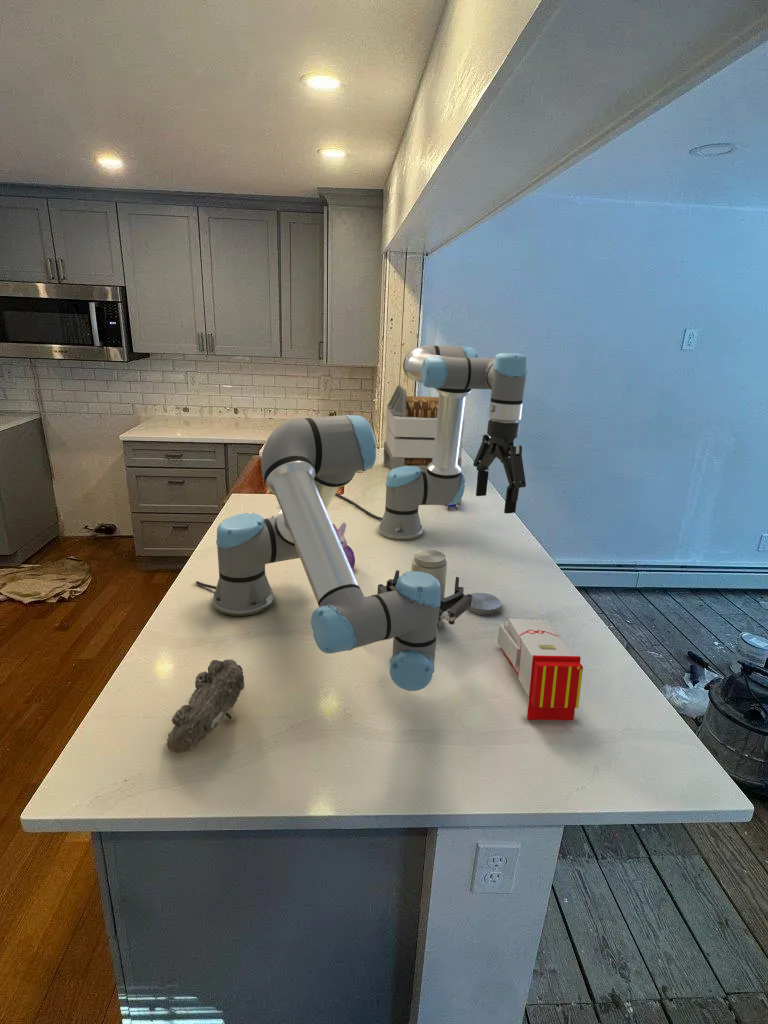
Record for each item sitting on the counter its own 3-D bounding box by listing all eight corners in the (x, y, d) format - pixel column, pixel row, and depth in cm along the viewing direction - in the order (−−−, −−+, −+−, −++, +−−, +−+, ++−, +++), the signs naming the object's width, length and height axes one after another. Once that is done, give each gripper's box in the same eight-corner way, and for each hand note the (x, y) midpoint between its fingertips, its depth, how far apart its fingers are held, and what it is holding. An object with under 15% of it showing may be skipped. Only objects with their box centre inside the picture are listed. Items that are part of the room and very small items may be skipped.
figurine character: (461, 514, 225) (456, 498, 239) (463, 497, 222) (458, 482, 235) (444, 513, 225) (440, 498, 239) (446, 496, 222) (442, 481, 235)
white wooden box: (382, 463, 289) (386, 382, 275) (445, 464, 293) (451, 384, 279) (390, 482, 257) (394, 392, 243) (460, 483, 261) (468, 394, 247)
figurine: (332, 580, 163) (333, 532, 158) (319, 566, 172) (319, 520, 167) (362, 575, 168) (363, 527, 162) (348, 561, 176) (349, 516, 171)
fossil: (192, 660, 117) (244, 628, 112) (224, 691, 120) (276, 661, 115) (142, 746, 98) (202, 712, 93) (182, 779, 101) (242, 748, 96)
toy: (543, 604, 136) (592, 662, 106) (538, 656, 138) (584, 727, 109) (493, 603, 135) (528, 661, 106) (489, 655, 138) (522, 726, 109)
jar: (423, 611, 150) (428, 545, 143) (448, 624, 144) (455, 556, 137) (401, 621, 144) (405, 554, 138) (425, 635, 138) (431, 566, 132)
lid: (469, 615, 148) (469, 609, 148) (462, 598, 157) (462, 592, 157) (504, 616, 149) (505, 610, 148) (495, 598, 158) (496, 592, 157)
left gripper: (354, 637, 112) (372, 587, 132) (481, 653, 109) (480, 599, 129) (355, 603, 110) (373, 558, 129) (485, 619, 107) (484, 570, 126)
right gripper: (465, 411, 146) (458, 490, 153) (520, 431, 124) (509, 522, 131) (490, 410, 148) (482, 488, 155) (549, 430, 126) (536, 519, 134)
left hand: (427, 578), depth 129 cm, fingers open, 13 cm apart
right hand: (494, 503), depth 143 cm, fingers open, 13 cm apart
